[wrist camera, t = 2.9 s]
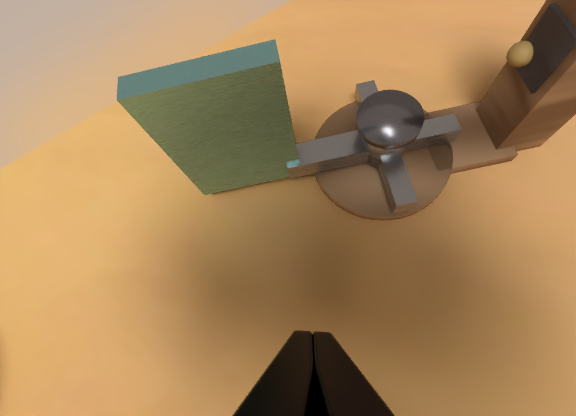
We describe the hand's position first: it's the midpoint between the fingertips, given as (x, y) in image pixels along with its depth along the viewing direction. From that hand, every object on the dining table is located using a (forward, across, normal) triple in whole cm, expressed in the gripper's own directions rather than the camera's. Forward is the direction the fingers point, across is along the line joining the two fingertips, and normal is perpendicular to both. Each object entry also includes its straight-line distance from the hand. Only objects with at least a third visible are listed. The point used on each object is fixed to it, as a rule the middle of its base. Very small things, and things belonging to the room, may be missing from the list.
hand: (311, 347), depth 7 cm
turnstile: (+15, -1, -3) cm, 15 cm away
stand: (+16, -7, -4) cm, 18 cm away
